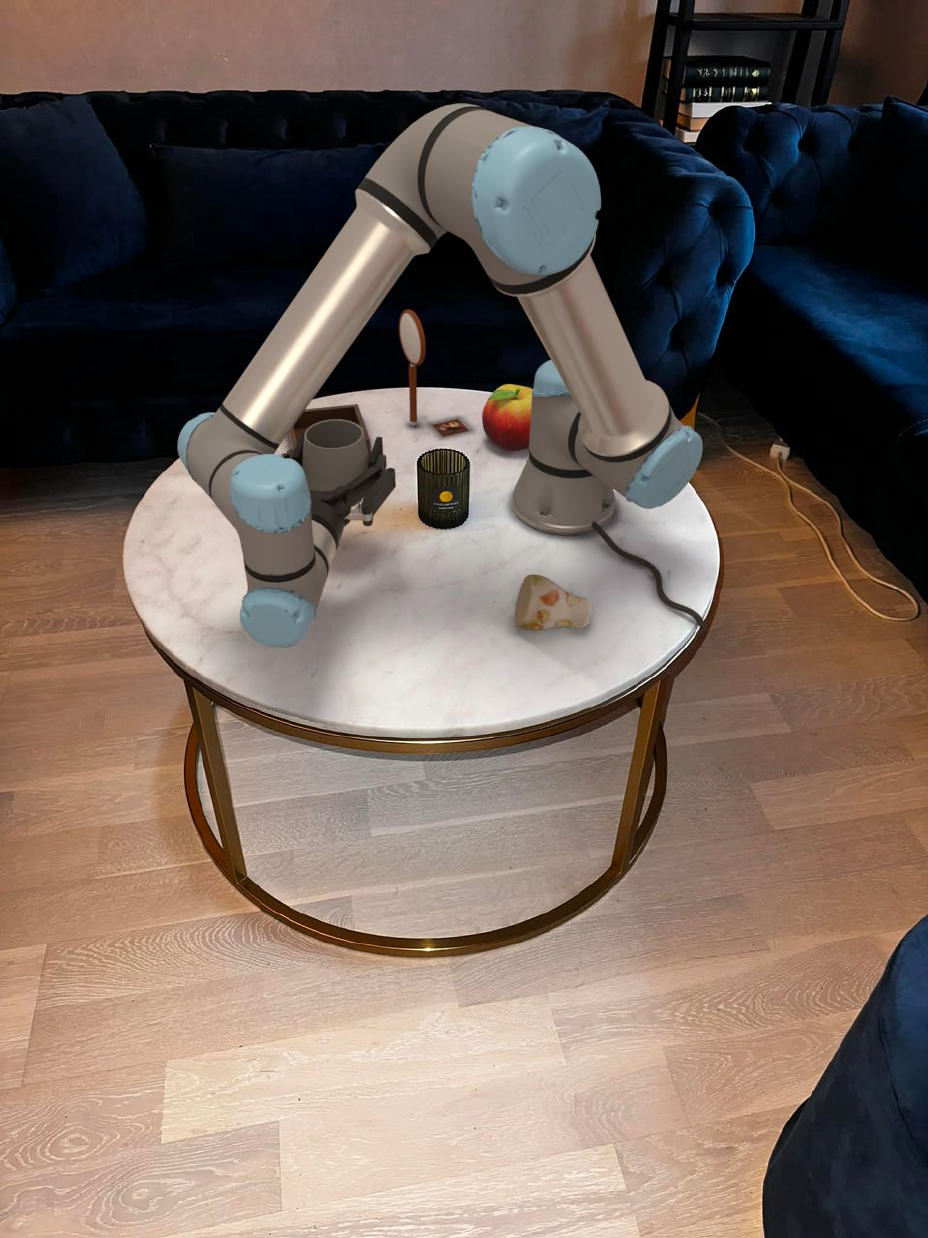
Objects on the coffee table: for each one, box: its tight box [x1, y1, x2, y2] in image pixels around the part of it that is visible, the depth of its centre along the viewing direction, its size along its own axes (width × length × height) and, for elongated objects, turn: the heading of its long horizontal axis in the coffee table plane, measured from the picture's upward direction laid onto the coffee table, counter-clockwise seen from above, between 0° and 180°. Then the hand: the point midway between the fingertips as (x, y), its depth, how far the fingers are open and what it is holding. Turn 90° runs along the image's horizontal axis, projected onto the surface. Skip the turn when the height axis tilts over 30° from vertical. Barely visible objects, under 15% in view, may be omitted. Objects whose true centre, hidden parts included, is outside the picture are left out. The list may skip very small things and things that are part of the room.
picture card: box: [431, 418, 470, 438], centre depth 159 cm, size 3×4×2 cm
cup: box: [302, 419, 370, 508], centre depth 124 cm, size 10×9×10 cm
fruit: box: [481, 383, 533, 452], centre depth 153 cm, size 11×11×10 cm
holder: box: [287, 403, 372, 457], centre depth 154 cm, size 12×12×4 cm
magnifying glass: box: [398, 309, 427, 427], centre depth 153 cm, size 9×2×20 cm, turn 27°
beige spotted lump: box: [514, 574, 594, 631], centre depth 120 cm, size 8×10×10 cm
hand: (343, 443), depth 127 cm, fingers closed on cup, 9 cm apart
